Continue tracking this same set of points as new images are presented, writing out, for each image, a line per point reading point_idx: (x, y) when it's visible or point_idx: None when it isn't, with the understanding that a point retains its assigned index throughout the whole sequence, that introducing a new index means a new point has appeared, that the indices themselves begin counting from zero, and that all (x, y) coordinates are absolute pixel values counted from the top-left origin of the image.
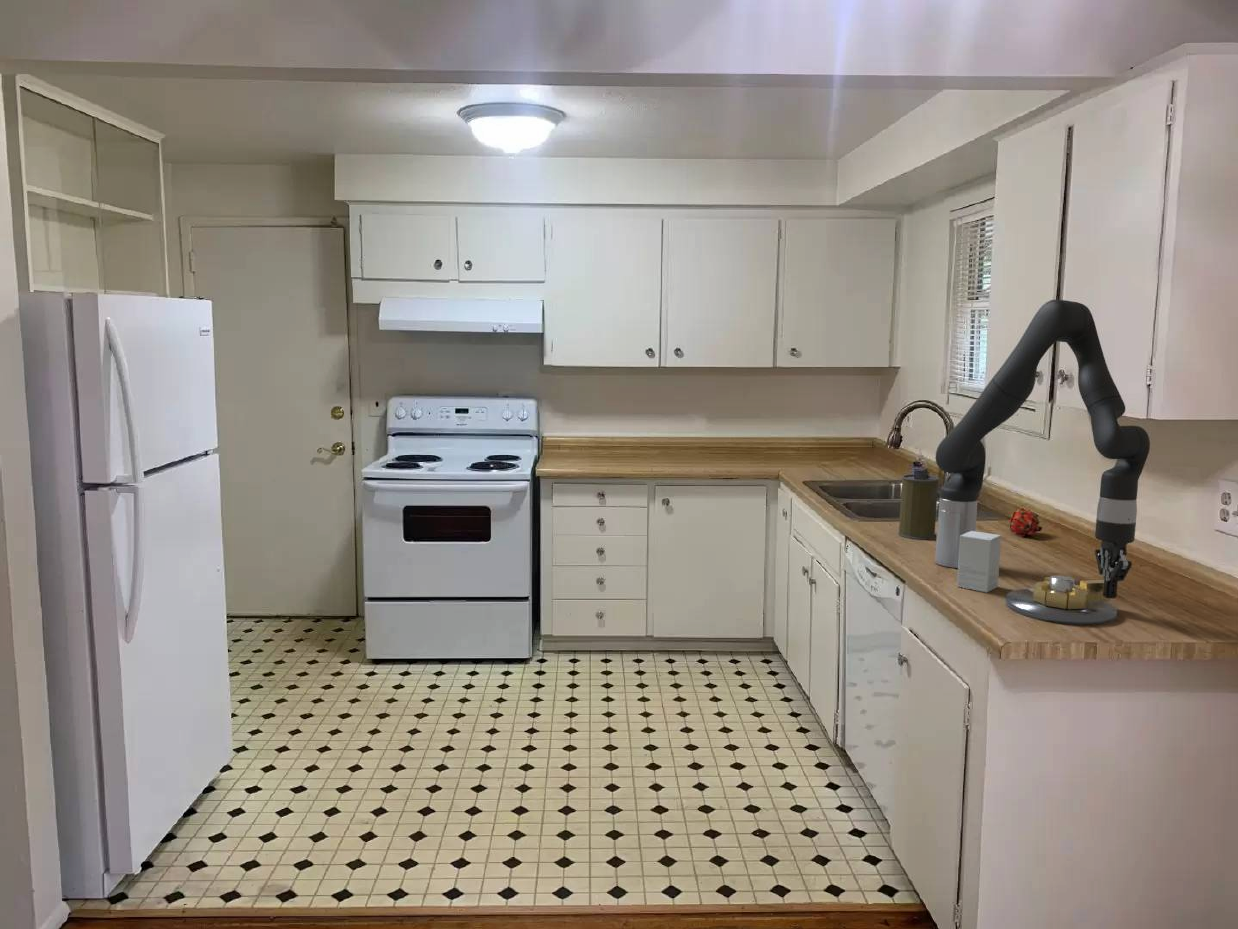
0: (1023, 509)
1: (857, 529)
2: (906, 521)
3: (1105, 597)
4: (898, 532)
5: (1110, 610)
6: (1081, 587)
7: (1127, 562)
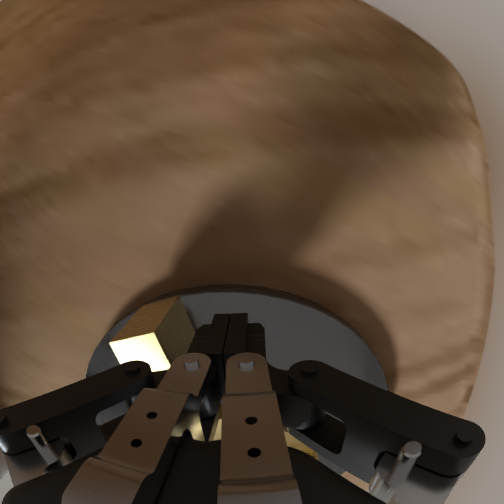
0: None
1: None
2: None
3: (184, 321)
4: None
5: (301, 329)
6: None
7: (470, 463)
